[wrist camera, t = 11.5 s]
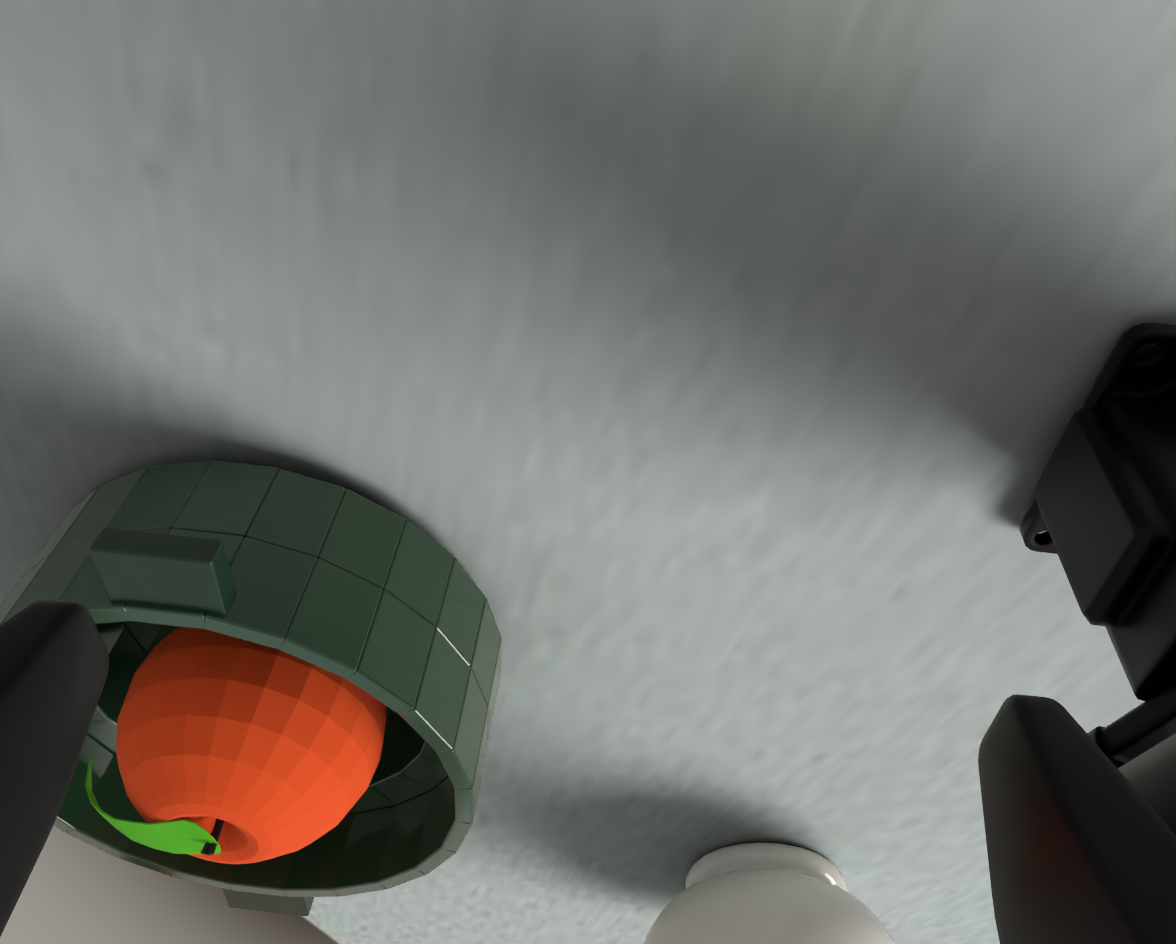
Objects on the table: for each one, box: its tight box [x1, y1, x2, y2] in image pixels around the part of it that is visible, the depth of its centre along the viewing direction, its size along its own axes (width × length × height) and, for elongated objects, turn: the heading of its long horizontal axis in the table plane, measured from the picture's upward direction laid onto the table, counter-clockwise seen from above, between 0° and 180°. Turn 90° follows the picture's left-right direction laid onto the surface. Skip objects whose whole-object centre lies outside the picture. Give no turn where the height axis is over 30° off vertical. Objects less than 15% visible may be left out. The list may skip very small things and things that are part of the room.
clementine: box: [85, 627, 387, 864], centre depth 26 cm, size 8×7×7 cm
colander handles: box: [90, 527, 314, 916], centre depth 25 cm, size 3×17×1 cm, turn 176°
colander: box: [0, 460, 501, 897], centre depth 27 cm, size 13×13×6 cm
